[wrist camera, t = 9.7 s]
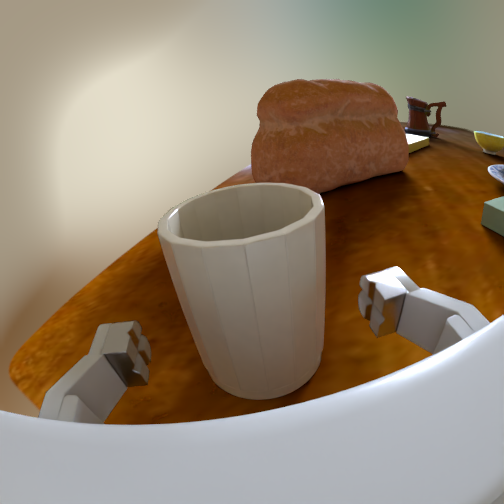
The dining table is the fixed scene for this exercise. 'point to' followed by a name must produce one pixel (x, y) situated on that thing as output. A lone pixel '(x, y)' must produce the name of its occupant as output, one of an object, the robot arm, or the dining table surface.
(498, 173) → the ceramic plate
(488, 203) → the scale
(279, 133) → the bread
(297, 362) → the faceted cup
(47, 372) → the dining table surface
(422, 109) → the mug
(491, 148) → the bowl
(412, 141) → the pale yellow flat slab
